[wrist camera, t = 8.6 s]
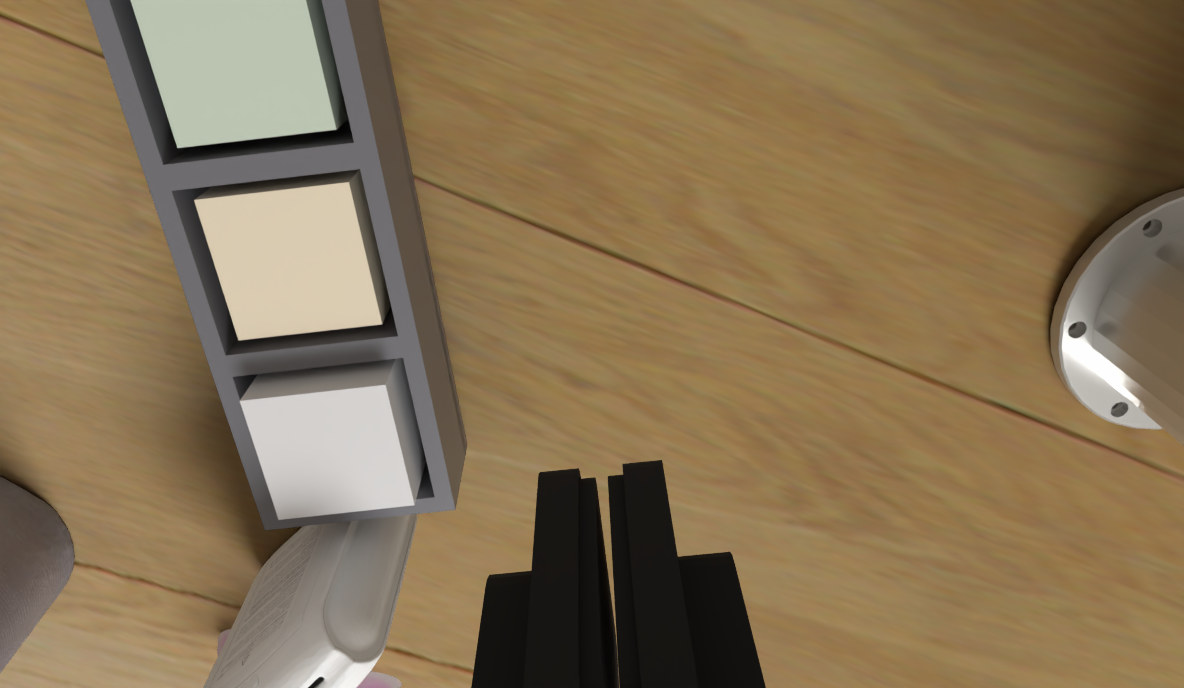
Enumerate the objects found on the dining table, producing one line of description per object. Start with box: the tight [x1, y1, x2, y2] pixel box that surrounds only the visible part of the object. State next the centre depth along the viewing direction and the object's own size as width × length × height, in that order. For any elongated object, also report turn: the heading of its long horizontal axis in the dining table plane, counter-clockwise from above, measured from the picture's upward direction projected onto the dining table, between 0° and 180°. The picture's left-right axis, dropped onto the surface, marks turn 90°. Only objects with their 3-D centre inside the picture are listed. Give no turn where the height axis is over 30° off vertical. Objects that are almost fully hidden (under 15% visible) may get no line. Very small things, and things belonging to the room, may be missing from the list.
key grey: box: [240, 358, 426, 520], centre depth 38 cm, size 6×6×4 cm
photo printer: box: [203, 514, 417, 688], centre depth 41 cm, size 10×4×12 cm, turn 134°
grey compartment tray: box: [85, 0, 467, 530], centre depth 37 cm, size 9×25×6 cm, turn 6°
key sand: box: [194, 169, 391, 340], centre depth 36 cm, size 6×6×4 cm
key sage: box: [131, 0, 349, 148], centre depth 33 cm, size 6×6×4 cm
